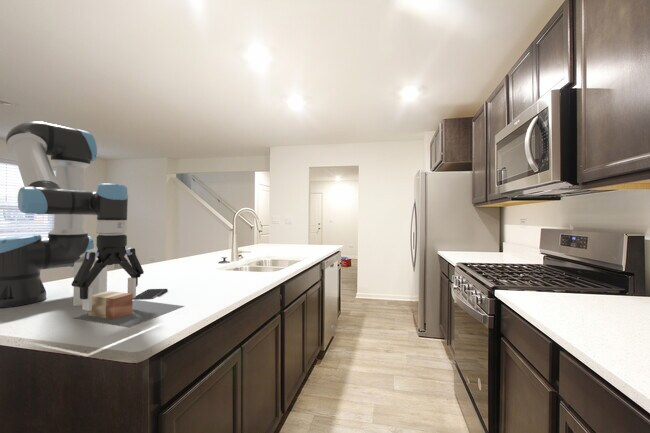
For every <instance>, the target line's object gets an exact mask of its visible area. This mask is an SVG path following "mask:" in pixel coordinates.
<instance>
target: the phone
mask: <svg viewBox="0 0 650 433" xmlns="http://www.w3.org/2000/svg"><path fill="white" fill-rule="evenodd" d="M168 291H169V290H168V288H150V289H149V288H148V289H146V290H145V291H142V292H141V293H139V294H136V298H132V301H133V300H154V299H155V298H158V297H161V296H163V295H164V294H166V293H167V292H168Z"/></svg>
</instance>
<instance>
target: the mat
mask: <svg viewBox="0 0 650 433" xmlns="http://www.w3.org/2000/svg"><path fill="white" fill-rule="evenodd" d="M184 307H185V305H179V304H171V303H163V302H154V301H147V300H141V299H139V300H132V313H131V314H128V315H125V316H122V317H119V318H116V319H107V318H101V317H95V316H89V313H85V314H82V315H78V316H76V317H73V319H76V320H80V321H88V322H93V323H99V324H100V323H101V324H106V325H111V326H118V327H124V328H132V327H135V326H137V325H139V324H142V323H144V322H145V323H146V322H147V321H150V320H153V319H156V318H158V317H161V316H163V315H166V314H169V313H172V312H173V311H176V310H179V309H181V308H184Z"/></svg>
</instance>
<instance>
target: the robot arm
mask: <svg viewBox="0 0 650 433" xmlns="http://www.w3.org/2000/svg"><path fill="white" fill-rule="evenodd" d="M5 143H6V146H7V149H8V151H10V153H11V154H13V155H14V159H15V161H16V163H17V164H16V165H17V167H18V171H19V174H20V176H21V180H22V183H23V186H22V187H20V189H19V190H18V193H17V208H18V210H19V211H20V212H21V213H23V214H33V215H34V214H36V215H54V216H53V217H54V218H53V221H54V222H53V229H51V230H50V231H48V233H47V237H42V236H41V234H36V233H35V234H24V235H22V234H21V235H16V236H9V237H7V236H6V237H2V238H0V309H1V308H11V307H19V306H25V305H30V304H34V303H38V302H41V301H43V300H45V299H47V290H46V288H45V285H44V284H43V281H42V280H41V270H50V269H59V268H67V267H69V268H74V263H75V262H76V261H77V260H79V259H80V255H82V254H83V253H85V258H84V261H83V263H82V265H81V267H80V269H79V271H78V273H77V275H76V276H75V278H74V277H73V280H72V282H71V287H74V286H75V287H79V288H80V299H82V305H81V307H82V309H81V310H83V311H88V312H89V311H90V310H92V287H89V286H90V285H91V283H92V282H93V281H94V279H95V278H96V277H97V276H98V274H99V273H100V272H101V270H102V269H103V268H104V267H106V266H107V267H108V266H112V265H120V267H121V268H122V269H123V270H124V271H125V272H126V273H127V274H128V275H129V276H130V277H129V276H128V277H127V293H130V294H133V298H136V296H137V287H138V285H139V283H138V282H139V278H141V275H143V274H144V269H143V267H142V265H141V263H140V261H139V259H138V256H137V254H136V249H135V247H127V245H128V236H127V235H126V233H128V202H129V201H128V200H129V194H128V188H127V186H126V185H123V184H120V183H99V184H98V185H97V190H96V191H93V190H92V191H90V190H85V188H86V187H85V185H86V184H85V180H86V169H87V168H89V167H90V166H91V162H94V161H95V160H96V159H97V155H98V147H97V142H96V139H95V137H94V136H93V134H92V133H91V132H89V131H86V130H83V129H79V128H75V127H69V126H64V125H58V124H55V123H50V122H44V121H36V120H35V121H33V120H32V121H26V122H21V123H19V124H17V125H15V126H14V127H12V128H11V129H9V131H8V133H7V134H6V137H5ZM48 156H50V160H49V157H48ZM51 163H53V165H55V172H54V170H53V167H52V164H51ZM84 215H89V216H96V234H98V235H97V236H96V251H97V252H96V253H95V252H87V250H91V249H95V248H94V247H95V245H94V244H95V243H94V238H93V237H92V236H89V234H88V231H87V230H86V229H85V228H84V218H85V217H84ZM126 257H127V258H126ZM96 258H98V260H97V261H96V262H95V264H94V266H93V268H92V269H91V267H92V265H93V263H94V261H95V259H96ZM90 269H91V270H90Z"/></svg>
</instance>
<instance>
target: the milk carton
mask: <svg viewBox="0 0 650 433" xmlns="http://www.w3.org/2000/svg"><path fill="white" fill-rule="evenodd" d="M87 252H95V253H96V252H97V247H96V248H93V249H91V250H87ZM84 258H85V253H83V254H82V255H80V259H79V260H77V261H76V262H75V263H74V267H73V279H74V278H75V276H76V275H77V273H78V271H79V269H80V267H81V265H82V263H83V261H84ZM97 260H98V258H96V259H95V261H94V263H93V265H92V267H91V269H92V268H93V266H94V264H95V262H96V261H97ZM91 269H90V270H91ZM89 287H92V295H94V294H98V293H103V292H107V291H108V265H107V266H106V267H104V268H103V269H102V270H101V272H100V273H99V274H98V276H97V277H96V278H95V279H94V281H93V282H92V283H91V285H90V286H89ZM72 295H73V298H72V299H73V301H72V302H73V305H72V306H73V307H75V306H76V307H77V306H82V299H80V288H79V287H75V286H73V294H72Z"/></svg>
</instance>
